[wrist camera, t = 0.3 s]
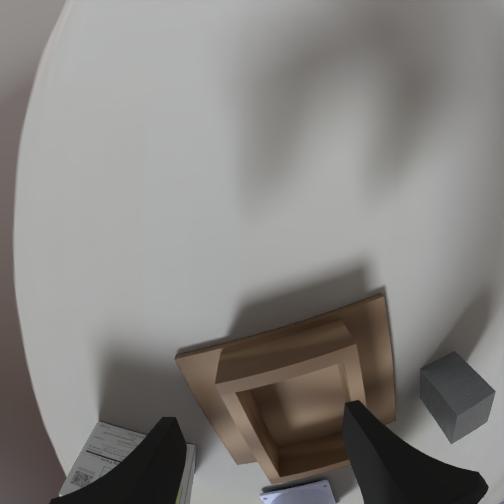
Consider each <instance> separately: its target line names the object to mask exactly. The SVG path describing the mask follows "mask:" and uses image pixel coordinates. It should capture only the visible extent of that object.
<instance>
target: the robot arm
mask: <svg viewBox="0 0 504 504" xmlns="http://www.w3.org/2000/svg"><path fill="white" fill-rule="evenodd" d="M342 436H343V440H344V445H345V449H346V453H347V455H348V458H349V461H350V463H351V466H352V468H353V471H354V474H355V476H356V479H357V481H358V484H359V487H360V489H361V493H362V496H363V500H364V504H477V503H478V502H479V501H480V500H481V499H482V498H483V497H484V495H485V494H486V493H487V490H488V488H489V487H488V485H487V484H486V482H485V480H484V479H483V477H482V476H481V475H480V474H479V472H475V471H471V470H466V469H462V468H458V467H455V466H452V465H449V464H446V463H444V462H441V461H439V460H437V459H434V458H432V457H430V456H428V455H426V454H424V453H422V452H420V451H419V450H417V449H415V448H414V447H412V446H411V445H409V444H408V443H406V442H405V441H403V440H402V439H401V438H399V437H398V436H397V435H395V434H394V433H393V432H392V431H391V430H389V429H388V428H387V427H386V426H385V425H384V424H383V423H381V422H380V421H379V420H378V419H377V418H376V417H375V416H374V415H373V414H372V413H371V412H370V411H369V410H368V409H367V408H366V407H365V406H364V405H363V403H362V402H361V401H359V400H355V401H350V402H345V405H344V417H343V427H342ZM186 454H187V444H186V442H185V440H184V437H183V435H182V432H181V430H180V427H179V424H178V422H177V419H176V417H162V418H161V419H160V421H159V422H158V423H157V424H156V425H155V426H154V428H153V429H152V430H151V431H150V432H149V433H148V435H147V436H146V437H145V438H144V439H143V440H142V441H141V442H140V444H139V445H138V446H137V447H136V448H135V449H134V450H133V451H132V452H131V453H130V454H129V455H128V456H127V457H126V458H125V459H124V460H122V461H121V462H120V463H119V464H118V465H117V466H115V467H114V468H113V469H112V470H110V471H109V472H108V473H106V474H105V475H103V476H102V477H100V478H98V479H97V480H95V481H94V482H92V483H90V484H88V485H87V486H85V487H83V488H81V489H78V490H76V491H74V492H71V493H69V494H66V495H63V496H60V497H57V498H54V499H52V500H51V501H50V503H49V504H175V503H176V499H177V495H178V491H179V488H180V484H181V480H182V476H183V472H184V468H185V463H186ZM260 498H261V499H262V501H263V502H264V503H265V504H336V502H335V499H334V496H333V493H332V490H331V487H330V484H329V481H328V480H322V481H319V482H315V483H311V484H306V485H302V486H298V487H293V488H288V489H283V490H278V491H272V492H266V493H261V494H260ZM500 504H504V501H503V502H501V503H500Z"/></svg>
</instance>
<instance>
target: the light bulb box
mask: <svg viewBox="0 0 504 504" xmlns="http://www.w3.org/2000/svg"><path fill="white" fill-rule="evenodd" d="M146 436H147V435H145V434H141V433H137V432H133V431H130V430H126V429H123V428H119V427H116V426H113V425H109V424H106V423H103V422H100V421H98V422H97V424H96V426H95V428H94V429H93V431H92V433H91V435H90V436H89V438H88V440H87V442H86V444H85V445H84V447H83V449H82V451H81V452H80V454H79V456H78V458H77V460H76V462H75V463H74V465H73V467H72V469H71V471H70V473H69V475H68V477H67V479H66V480H65V482H64V484H63V486H62V488H61V490H60V493H59V496H63V495H66V494H69V493H71V492H74V491H76V490H78V489H81V488H83V487H85V486H87V485H88V484H90V483H92V482H94V481H95V480H97V479H98V478H100V477H102V476H103V475H105V474H106V473H108V472H109V471H110V470H112V469H113V468H114V467H115V466H117V465H118V464H119V463H120V462H121V461H122V460H124V459H125V458H126V457H127V456H128V455H129V454H130V453H131V452H132V451H133V450H134V449H135V448H136V447H137V446H138V445H139V444H140V442H141V441H142V440H143V439H144V438H145V437H146ZM195 455H196V445H192V444H187V454H186V463H185V468H184V472H183V476H182V480H181V484H180V488H179V491H178V495H177V499H176V503H175V504H190V497H191V490H192V484H193V478H194V471H195Z"/></svg>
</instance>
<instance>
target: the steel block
mask: <svg viewBox="0 0 504 504" xmlns="http://www.w3.org/2000/svg"><path fill="white" fill-rule="evenodd" d="M494 395H495V390H494V389H493V388H492V387H491V386H490V385H489V384H488V383H487V382H486V381H485V380H484V379H483V378H482V377H481V376H480V375H479V374H478V373H477V372H476V371H475V370H474V369H473V368H472V367H471V366H470V365H469V364H468V363H466V362H465V361H464V360H463V359H462V358H461V357H460V356H459V355H458V354H457V353H456V352H455V351H454V352H453V353H451V354H449V355H447V356H445V357H443V358H441V359H439V360H437V361H435V362H433V363H431V364H429V365H427V366H425V367H423V368H421V369H420V399H421V400H422V401H423V403H424V404H425V406H426V407H427V409H428V410H429V412H430V413H431V414H432V416H433V417H434V419H435V420H436V422H437V423H438V425H439V426H440V428H441V429H442V431H443V432H444V434H445V435H446V437H447V438H448V440H449V441H450V443H451V444H452V443H454V442H456V441H457V440H459V439H461V438H462V437H464V436H466V435H467V434H469V433H471V432H472V431H474V430H475V429H477V428H478V427H480V426H481V425H483V424H484V423H486V422H487V420H488V417H489V414H490V410H491V407H492V403H493V399H494Z"/></svg>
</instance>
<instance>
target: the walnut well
mask: <svg viewBox="0 0 504 504" xmlns="http://www.w3.org/2000/svg"><path fill="white" fill-rule="evenodd" d="M175 361H176V363H177V365H178V367H179V369H180V371H181V373H182V374H183V376H184V378H185V380H186V382H187V384H188V386H189V387H190V389H191V391H192V393H193V394H194V396H195V398H196V400H197V401H198V403H199V405H200V407H201V408H202V410H203V412H204V413H205V415H206V417H207V418H208V420H209V422H210V423H211V425H212V427H213V428H214V430H215V431H216V433H217V435H218V436H219V438H220V439H221V441H222V442H223V444H224V446H225V447H226V449H227V450H228V452H229V453H230V455H231V456H232V458H233V459H234V461H235V462H236V464H237V465H240V464H247V463H253V462H258V463H259V465H260V467H261V468H262V470H263V471H264V473H265V475H266V476H267V478H268V479H269V481H270V482H271V484H278V483H283V482H288V481H293V480H297V479H302V478H306V477H310V476H314V475H318V474H321V473H325V472H329V471H332V470H336V469H339V468H342V467H345V466H348V465H351V463H350V461H349V458H348V455H347V453H346V449H345V445H344V440H343V436H342V427H343V417H344V405H345V402H350V401H355V400H359V401H361V402H362V403H363V405H364V406H365V407H366V408H367V409H368V410H369V411H370V412H371V413H372V414H373V415H374V416H375V417H376V418H377V419H378V420H379V421H380V422H381V423H383V424H384V425H386V424H388V423H391V422H393V421H396V413H395V391H394V376H393V364H392V353H391V344H390V335H389V327H388V319H387V312H386V305H385V299H384V296H383V295H382V294H378V295H376V296H373V297H370V298H368V299H365V300H362V301H359V302H357V303H354V304H351V305H348V306H345V307H343V308H340V309H337V310H334V311H331V312H328V313H325V314H322V315H319V316H316V317H313V318H310V319H307V320H304V321H301V322H297V323H294V324H291V325H288V326H285V327H281V328H278V329H275V330H271V331H268V332H264V333H261V334H257V335H254V336H250V337H247V338H243V339H239V340H236V341H232V342H228V343H224V344H220V345H216V346H213V347H208V348H204V349H200V350H196V351H192V352H188V353H183V354H179V355H176V357H175Z"/></svg>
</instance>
